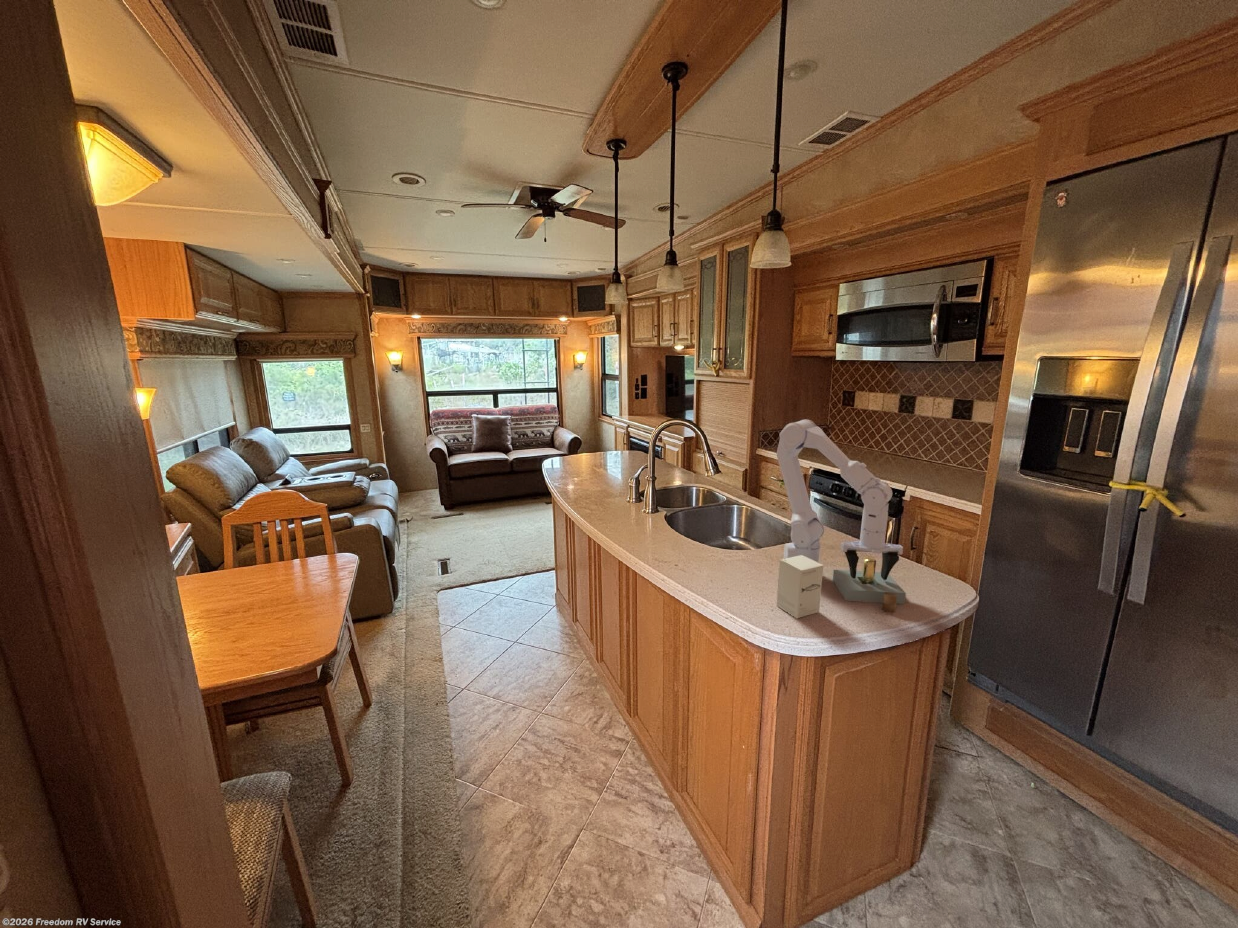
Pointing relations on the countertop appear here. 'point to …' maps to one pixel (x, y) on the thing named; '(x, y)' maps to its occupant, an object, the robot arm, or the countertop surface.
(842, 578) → the hole plate
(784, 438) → the robot arm
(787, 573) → the supplement box
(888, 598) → the short pin
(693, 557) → the countertop surface
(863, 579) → the long pin
